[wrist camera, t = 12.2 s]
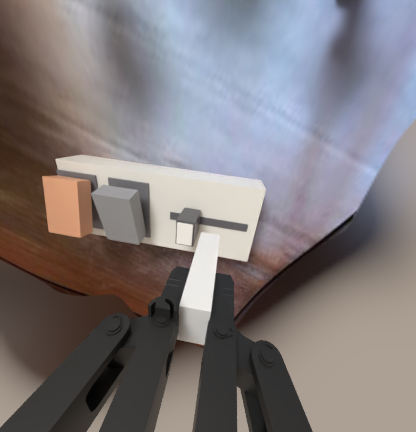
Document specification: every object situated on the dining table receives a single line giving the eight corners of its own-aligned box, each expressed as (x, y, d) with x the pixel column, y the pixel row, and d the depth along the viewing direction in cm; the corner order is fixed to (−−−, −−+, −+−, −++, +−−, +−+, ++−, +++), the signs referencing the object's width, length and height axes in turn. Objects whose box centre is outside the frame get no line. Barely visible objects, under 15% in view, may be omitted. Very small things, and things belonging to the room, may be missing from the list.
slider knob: (183, 228, 28) (174, 244, 24) (184, 207, 26) (175, 220, 22) (198, 231, 28) (192, 248, 24) (200, 210, 26) (194, 224, 22)
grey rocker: (116, 228, 29) (107, 239, 27) (102, 184, 24) (90, 193, 22) (146, 233, 29) (139, 244, 27) (138, 190, 24) (129, 199, 22)
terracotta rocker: (63, 226, 29) (48, 231, 26) (58, 175, 26) (42, 176, 24) (92, 231, 28) (80, 237, 26) (90, 180, 26) (76, 181, 24)
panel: (93, 217, 36) (71, 231, 31) (81, 154, 31) (53, 159, 26) (245, 244, 33) (247, 262, 29) (261, 180, 28) (266, 190, 23)
